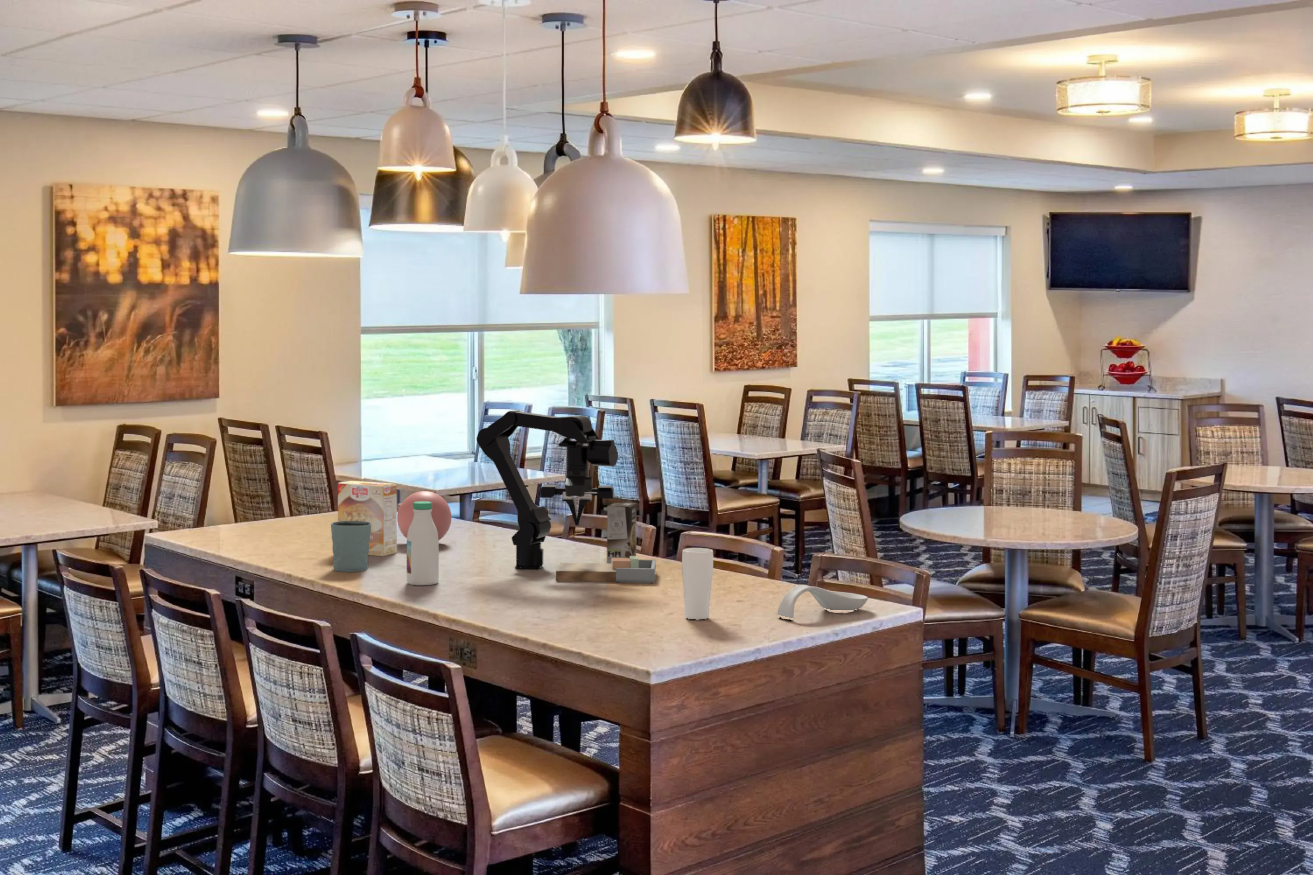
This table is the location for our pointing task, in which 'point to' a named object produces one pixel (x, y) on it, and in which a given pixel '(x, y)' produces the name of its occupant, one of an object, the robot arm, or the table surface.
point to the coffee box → (621, 530)
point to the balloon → (438, 513)
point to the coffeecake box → (371, 512)
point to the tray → (637, 573)
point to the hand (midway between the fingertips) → (577, 525)
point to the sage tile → (634, 562)
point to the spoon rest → (821, 600)
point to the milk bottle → (422, 547)
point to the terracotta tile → (620, 563)
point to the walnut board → (586, 572)
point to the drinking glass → (697, 581)
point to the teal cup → (350, 545)
